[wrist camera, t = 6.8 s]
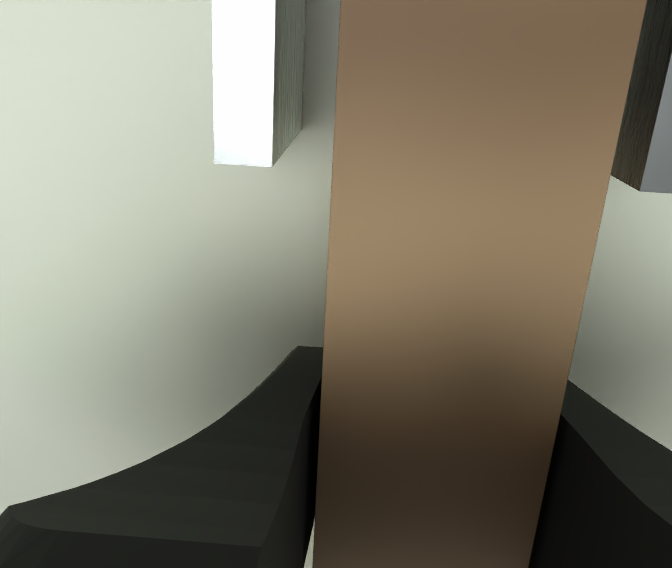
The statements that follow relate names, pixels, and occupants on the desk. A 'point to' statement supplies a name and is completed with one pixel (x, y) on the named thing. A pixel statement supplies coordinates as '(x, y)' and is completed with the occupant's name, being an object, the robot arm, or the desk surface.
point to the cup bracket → (287, 89)
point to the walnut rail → (459, 267)
